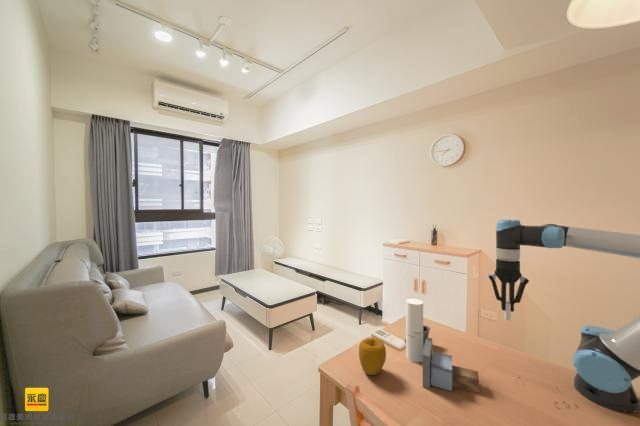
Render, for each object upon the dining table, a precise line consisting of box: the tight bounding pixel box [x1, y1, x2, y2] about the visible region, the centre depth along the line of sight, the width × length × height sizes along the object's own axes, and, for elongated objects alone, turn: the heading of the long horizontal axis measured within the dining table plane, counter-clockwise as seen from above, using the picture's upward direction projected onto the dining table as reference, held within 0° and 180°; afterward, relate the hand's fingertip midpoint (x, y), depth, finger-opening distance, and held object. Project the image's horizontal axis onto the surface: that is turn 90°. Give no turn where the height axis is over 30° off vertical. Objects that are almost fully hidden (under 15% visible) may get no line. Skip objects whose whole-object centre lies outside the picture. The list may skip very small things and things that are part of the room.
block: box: [430, 351, 453, 392], centre depth 96 cm, size 7×10×8 cm
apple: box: [358, 337, 387, 376], centre depth 102 cm, size 11×11×13 cm
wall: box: [422, 337, 433, 390], centre depth 98 cm, size 2×14×12 cm, turn 152°
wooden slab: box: [452, 364, 480, 393], centre depth 95 cm, size 14×5×5 cm, turn 63°
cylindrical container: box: [405, 298, 424, 363], centre depth 111 cm, size 7×7×25 cm
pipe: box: [404, 324, 431, 347], centre depth 121 cm, size 6×13×8 cm, turn 107°
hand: (507, 318), depth 99 cm, fingers closed
